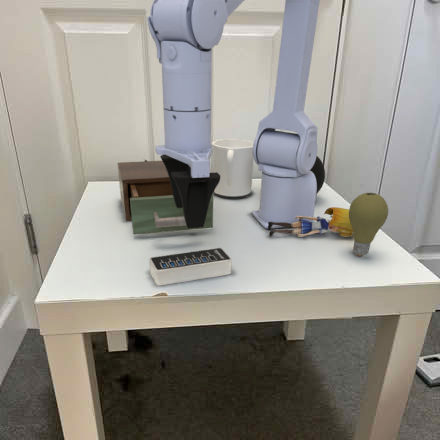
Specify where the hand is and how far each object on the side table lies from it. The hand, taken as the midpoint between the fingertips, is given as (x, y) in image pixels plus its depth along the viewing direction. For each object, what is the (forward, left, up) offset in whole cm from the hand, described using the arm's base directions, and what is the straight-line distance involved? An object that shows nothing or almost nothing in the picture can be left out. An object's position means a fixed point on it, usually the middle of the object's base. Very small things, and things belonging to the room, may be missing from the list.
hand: (189, 216), depth 61 cm
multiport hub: (0, 0, -9) cm, 9 cm away
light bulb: (-27, 0, -9) cm, 28 cm away
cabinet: (0, -28, -8) cm, 29 cm away
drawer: (0, -16, -8) cm, 18 cm away
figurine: (-23, -9, -9) cm, 26 cm away
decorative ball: (-28, -27, -9) cm, 39 cm away
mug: (-16, -33, -9) cm, 37 cm away
